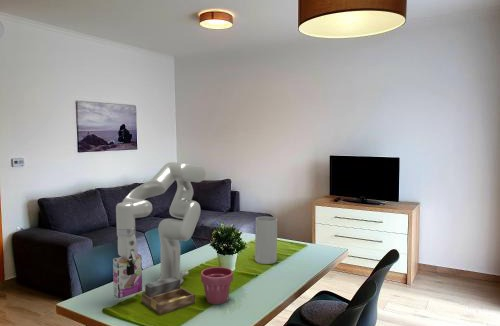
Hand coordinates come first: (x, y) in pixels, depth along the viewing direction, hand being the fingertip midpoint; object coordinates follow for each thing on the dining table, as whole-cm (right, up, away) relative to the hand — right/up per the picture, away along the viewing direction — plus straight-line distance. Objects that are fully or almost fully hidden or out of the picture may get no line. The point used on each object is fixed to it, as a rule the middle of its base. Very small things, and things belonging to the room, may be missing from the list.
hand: (127, 272), depth 169 cm
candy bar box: (0, -10, +1) cm, 10 cm away
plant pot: (+38, -14, +6) cm, 41 cm away
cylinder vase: (+62, -10, +59) cm, 86 cm away
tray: (+17, -14, +2) cm, 22 cm away
